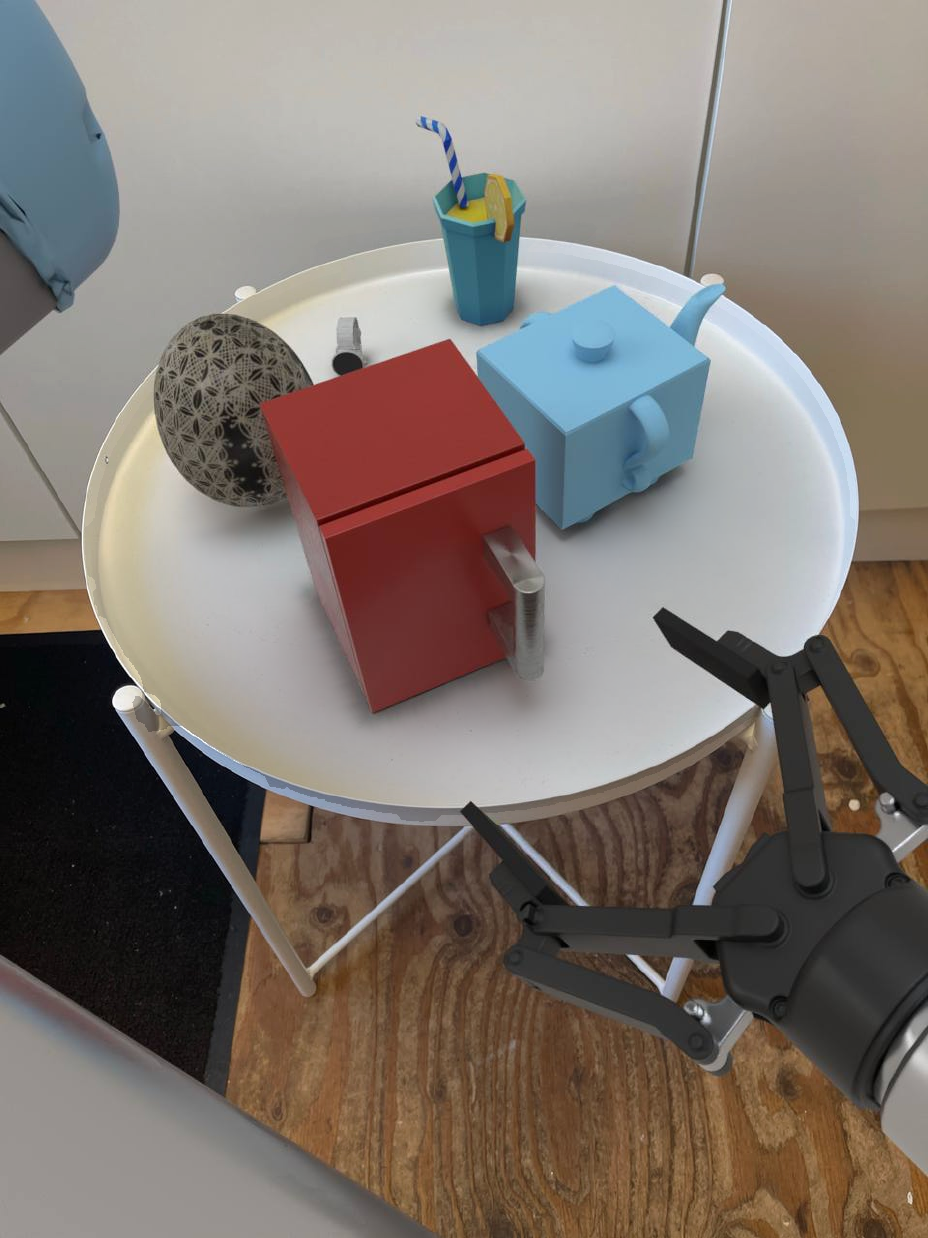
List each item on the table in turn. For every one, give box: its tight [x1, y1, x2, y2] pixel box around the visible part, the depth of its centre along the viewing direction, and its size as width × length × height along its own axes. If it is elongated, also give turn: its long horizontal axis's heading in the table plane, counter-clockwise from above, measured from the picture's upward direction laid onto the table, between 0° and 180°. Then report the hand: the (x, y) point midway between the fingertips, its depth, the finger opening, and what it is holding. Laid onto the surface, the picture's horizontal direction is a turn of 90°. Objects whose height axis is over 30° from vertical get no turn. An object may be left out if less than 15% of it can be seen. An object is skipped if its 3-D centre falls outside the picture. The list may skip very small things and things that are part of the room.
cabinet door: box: [319, 449, 546, 714], centre depth 56 cm, size 6×12×18 cm, turn 114°
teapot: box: [475, 283, 726, 531], centre depth 71 cm, size 18×16×13 cm
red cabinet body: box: [259, 338, 525, 699], centre depth 61 cm, size 10×12×18 cm
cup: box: [415, 115, 527, 327], centre depth 82 cm, size 14×8×15 cm, turn 37°
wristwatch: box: [330, 316, 367, 376], centre depth 82 cm, size 3×5×5 cm, turn 1°
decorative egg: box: [153, 313, 315, 508], centre depth 70 cm, size 12×12×15 cm
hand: (573, 721), depth 49 cm, fingers open, 13 cm apart
